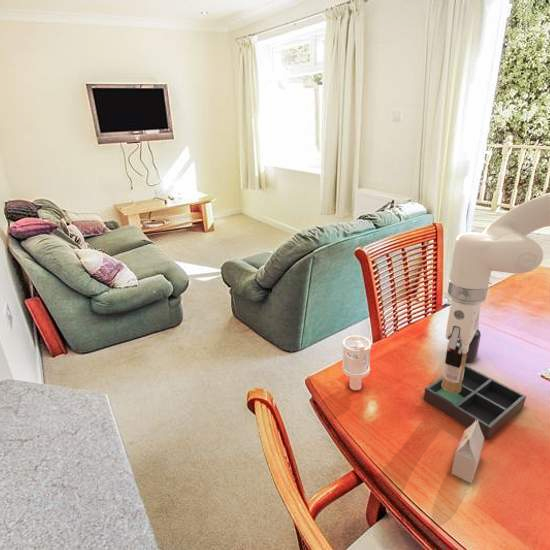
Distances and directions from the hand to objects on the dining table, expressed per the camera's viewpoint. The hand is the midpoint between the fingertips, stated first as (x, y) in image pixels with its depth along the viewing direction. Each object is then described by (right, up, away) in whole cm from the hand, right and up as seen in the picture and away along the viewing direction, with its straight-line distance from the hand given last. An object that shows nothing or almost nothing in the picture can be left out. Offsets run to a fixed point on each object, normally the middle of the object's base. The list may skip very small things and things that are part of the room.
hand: (455, 358), depth 88 cm
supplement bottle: (+13, -4, +21) cm, 25 cm away
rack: (+6, -12, +4) cm, 14 cm away
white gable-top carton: (-4, -20, -12) cm, 23 cm away
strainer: (-21, -10, +12) cm, 26 cm away
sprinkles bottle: (0, -8, +4) cm, 9 cm away
